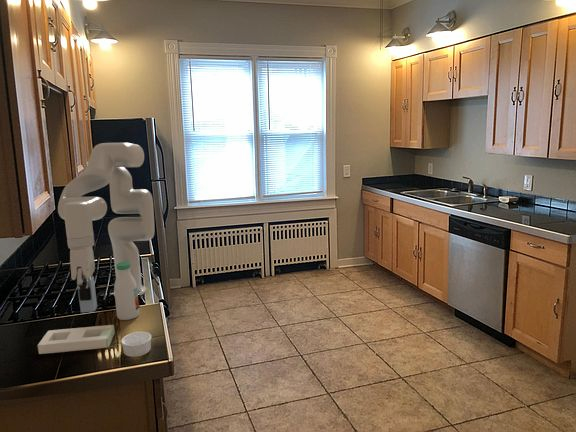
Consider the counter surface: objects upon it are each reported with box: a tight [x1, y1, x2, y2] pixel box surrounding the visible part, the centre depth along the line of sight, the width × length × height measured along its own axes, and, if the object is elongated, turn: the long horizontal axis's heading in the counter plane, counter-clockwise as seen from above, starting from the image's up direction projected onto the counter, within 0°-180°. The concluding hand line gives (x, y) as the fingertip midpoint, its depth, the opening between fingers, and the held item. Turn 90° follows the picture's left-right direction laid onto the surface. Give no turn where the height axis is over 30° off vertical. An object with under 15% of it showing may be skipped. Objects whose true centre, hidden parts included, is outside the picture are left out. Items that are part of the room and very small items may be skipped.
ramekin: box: [121, 331, 152, 358], centre depth 146 cm, size 9×9×4 cm
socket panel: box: [37, 324, 115, 355], centre depth 152 cm, size 10×21×3 cm, turn 99°
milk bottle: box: [113, 262, 140, 321], centre depth 169 cm, size 8×8×20 cm
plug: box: [76, 276, 98, 313], centre depth 149 cm, size 4×4×11 cm
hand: (87, 296), depth 149 cm, fingers closed on plug, 4 cm apart
